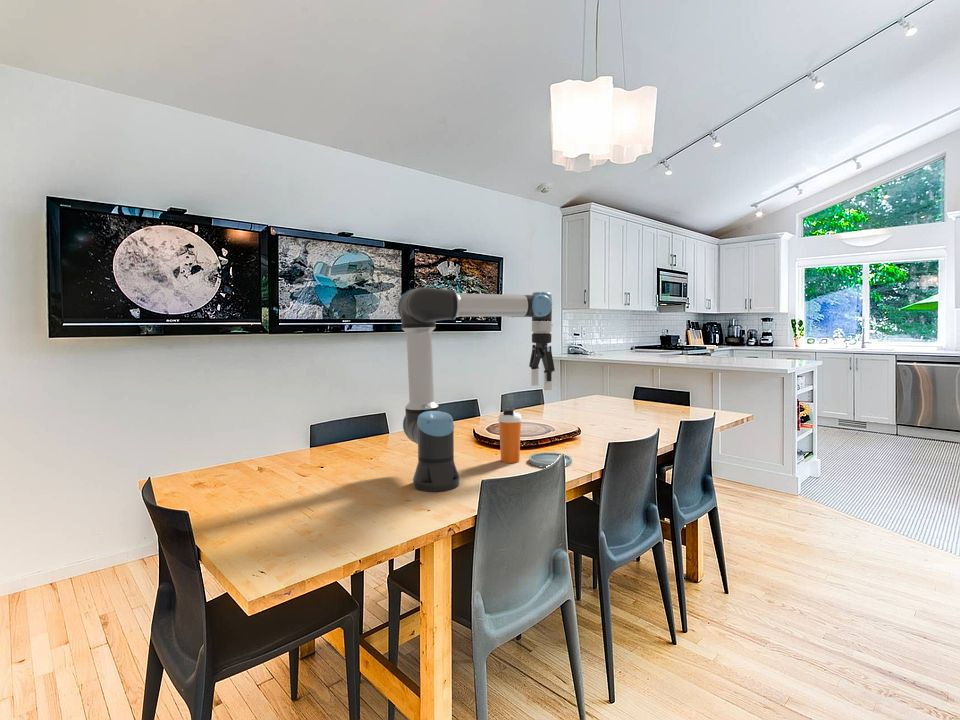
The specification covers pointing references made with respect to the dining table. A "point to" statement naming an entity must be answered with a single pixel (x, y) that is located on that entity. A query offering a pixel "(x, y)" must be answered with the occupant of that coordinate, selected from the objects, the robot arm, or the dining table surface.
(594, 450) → the dining table surface
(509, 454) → the shaker bottle
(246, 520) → the dining table surface
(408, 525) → the dining table surface
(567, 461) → the saucer
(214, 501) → the dining table surface
